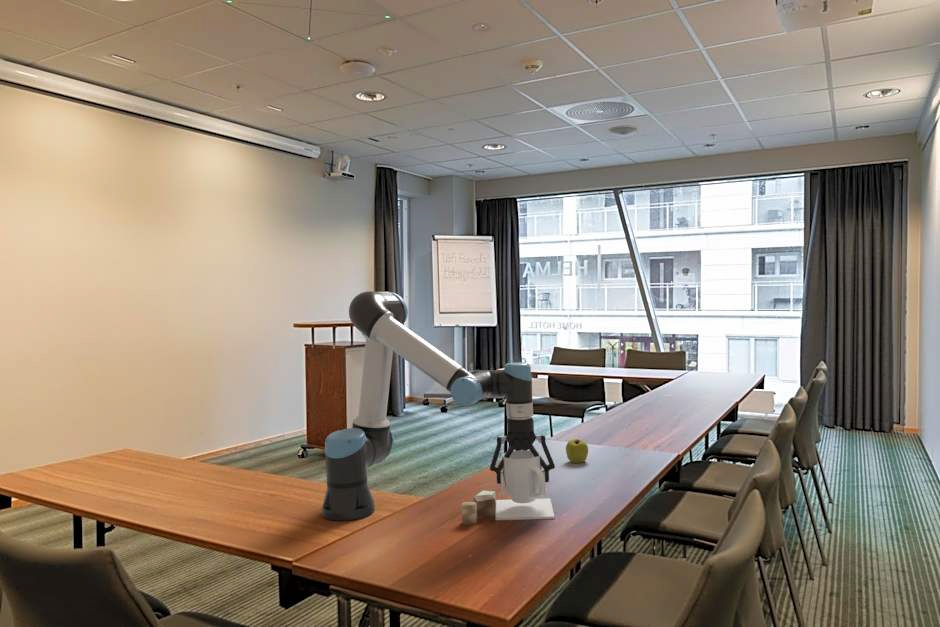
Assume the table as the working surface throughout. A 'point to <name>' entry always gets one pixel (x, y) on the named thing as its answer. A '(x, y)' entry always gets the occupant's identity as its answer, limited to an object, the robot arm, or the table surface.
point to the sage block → (488, 494)
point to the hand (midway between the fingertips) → (523, 494)
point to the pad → (524, 510)
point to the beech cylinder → (469, 513)
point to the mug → (523, 476)
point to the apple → (577, 450)
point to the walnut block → (485, 506)
